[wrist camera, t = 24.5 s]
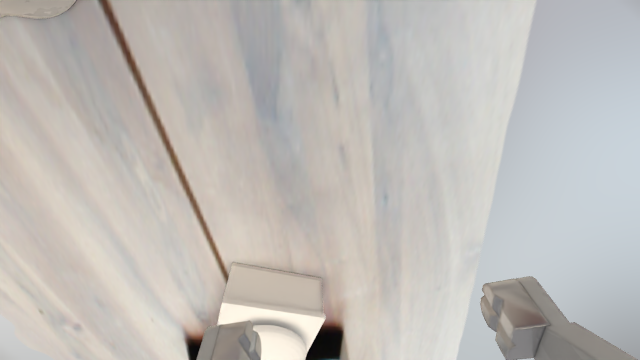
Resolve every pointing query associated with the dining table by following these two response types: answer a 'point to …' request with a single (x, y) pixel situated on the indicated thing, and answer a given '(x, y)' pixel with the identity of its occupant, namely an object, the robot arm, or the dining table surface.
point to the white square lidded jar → (275, 308)
